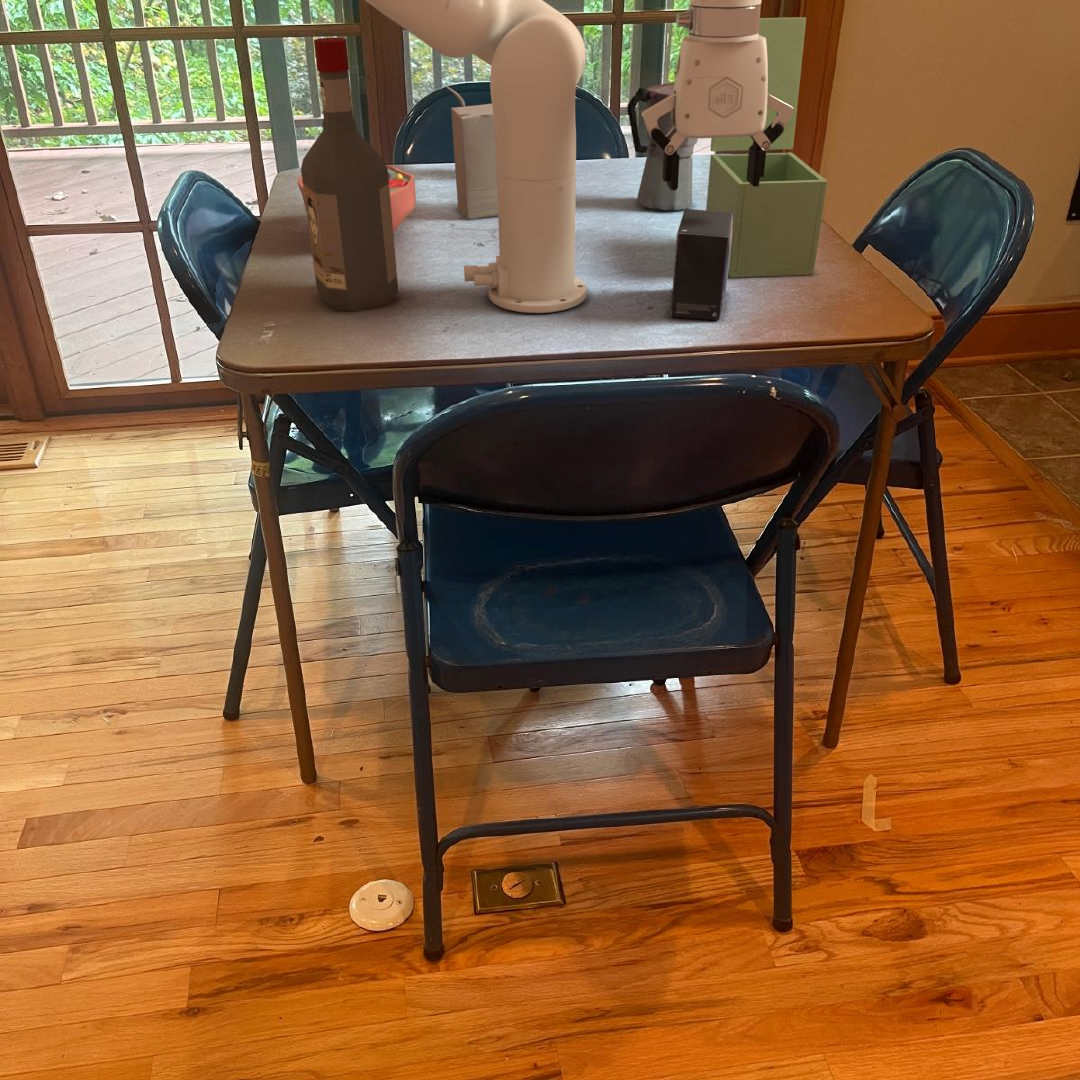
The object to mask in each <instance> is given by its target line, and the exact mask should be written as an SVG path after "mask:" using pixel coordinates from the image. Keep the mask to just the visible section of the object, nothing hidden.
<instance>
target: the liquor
mask: <svg viewBox="0 0 1080 1080" xmlns="http://www.w3.org/2000/svg"><path fill="white" fill-rule="evenodd" d="M313 46H314V54H315V62H316V71H317V72H318V76H319V77H318V78H319V85H320V86H319V87H320V96H321V103H322V115H323V120H322V123H321V127H322V131H321V132H320V134H319V135H318V137H317V138H316V139H315V141H314V142H313V144H312V145H311V147H310V148H309V150H308V151H307V153H306V154H305V156H304V157H303V159H302V161H301V162H302V163H301V167H300V173H301V174H300V175H302V182H303V189H304V197H305V204H306V208H305V212H306V211H307V212H306V218H307V226H308V233H309V241H310V247H311V249H310V250H311V257H312V262H313V270H314V279H315V285H316V291H317V292H318V294H319V295H320V297H321V298H322V300H324V302H325V303H326V304H327V305H328V306H329V307H330V308H331V309H332V310H337V311H345V312H355V311H361V310H367V309H374V308H378V307H384V306H387V305H389V304H390V303H392V301H394V300H395V299H396V298H397V295H398V293H399V283H398V270H397V259H396V250H395V249H396V248H395V237H394V235H395V234H394V233H393V224H392V212H391V201H390V189H389V178H388V169H387V167H386V166H387V164H386V162H385V160H384V159H383V157H381V155H380V154H379V153H378V152H377V151H376V150H375V149H374V147H373V146H372V145H371V144H370V143H369V142H368V141H367V140H366V139H365V137H363V135H362V134H361V133H360V132H359V131H358V130H357V129H358V128H357V122H356V120H355V118H354V110H353V106H352V104H353V103H352V96H351V95H352V93H351V85H350V77H349V70H350V64H349V63H350V62H349V55H348V45H347V39H346V38H344V37H321V38H315V39H313ZM305 204H304V205H305Z"/></svg>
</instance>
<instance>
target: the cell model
mask: <svg viewBox="0 0 1080 1080" xmlns="http://www.w3.org/2000/svg"><path fill="white" fill-rule="evenodd" d="M386 167H387V169H388V178H389V189H390V201H391V212H392V224H393V234H395V232H396V231H397V229H398V228H399V226H400V225H401V224H402V222H403V221H404V220H405V219H406V218H407V217H408V216H410V214H411V213H412V212H413V210H414V209H415V206H416V203H417V195H416V181H415V180H416V179H415V175H413V174H412V173H411V174H410V173H408V172H406V171H404V170H401V169H400V168H398V167H396V166H391V165H386ZM296 183H297V186H298V188H299V191H300V193H301V196H302V201H303V204H304V208H305V209H306V204H305V197H304V189H303V182H302V174H300V175H299V177H298V179H297V180H296ZM305 212H306V213H307V211H306V210H305Z"/></svg>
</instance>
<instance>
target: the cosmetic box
mask: <svg viewBox="0 0 1080 1080" xmlns="http://www.w3.org/2000/svg"><path fill="white" fill-rule="evenodd" d="M450 111H451V125H452V126H451V128H452V143H453V154H454V156H453V157H454V170H455V172H454V173H455V184H456V185H455V187H456V200H457V209H458V210H459V212H460V213H461V214H462V215H463V216H464V218H465V219H467V220H476V219H484V218H490V217H498V189H497V166H496V141H495V126H494V116H493V108H492V103H485V104H477V105H467V106H466V105H465V107H462V106H456V107H451V109H450Z"/></svg>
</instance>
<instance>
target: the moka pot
mask: <svg viewBox="0 0 1080 1080" xmlns="http://www.w3.org/2000/svg"><path fill="white" fill-rule="evenodd" d="M675 76H676V70H675V71H674V77H675ZM674 83H675V81H672V82H668V83H662V84H657V85H653V86H649V87H646V88H643V87H639V88H638V90H636V92H635V95H633V96H632V97H631V99H630V100H629V102H628V104H627V107H626V108H627V115H628V117H629V118H628V119H629V125H630V131H631V137H632V143H633V148H634V152H635V153H640V154H644V153H645V154H646V153H647V156H646V159H645V163H644V167H643V172H642V175H641V180H640V185H639V189H638V193H637V198H636V201H637V203H638V204H639V205H641V206H642V207H645V208H649V209H653V210H659V211H660V210H662V211H681V210H685V209H690V207H692V204H693V163H694V160H693V157H692V156H693V155H694V150H695V145H696V144H697V143H698V140H699V138H686V139H685V140H684V141H683V143H682V144H681V145H680V146H679V147H678V149H677V154H678V155H679V177H678V189H676V190H672V191H671V189H670V188H669V187H668V185H667V181H666V182H664V181H663V156H664V150H663V149H662V148H661V147H660V146H659V145H658V144H657V143H656V142H655V141H654V140H653V139H652V137H651V136H650V135H649V132H648V130H647V129H646V138H647V141H648V145H641V144H642V143H641V140H640V137H639V127H638V115H637V110H636V107H637V105H638V103H639V102H640V101H641V102H643V103H646V109H648V108H650V107H652V106H653V105H655V104H657V103H658V102H660V101H662V100H663V99H665V98H667V97H669V96H670V95H672V94H673V90H674ZM671 113H672V111H670V112H668V113H666V114H665V115H663V116H661V117H660V118H658V120H657V123H658V126H659V128H660V131H661V132H662V133H663V134H664V135H665V136H666V135H667V134H668V133H669V131H670V130H671V129H672V128H673V125H672V120H671Z"/></svg>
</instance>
